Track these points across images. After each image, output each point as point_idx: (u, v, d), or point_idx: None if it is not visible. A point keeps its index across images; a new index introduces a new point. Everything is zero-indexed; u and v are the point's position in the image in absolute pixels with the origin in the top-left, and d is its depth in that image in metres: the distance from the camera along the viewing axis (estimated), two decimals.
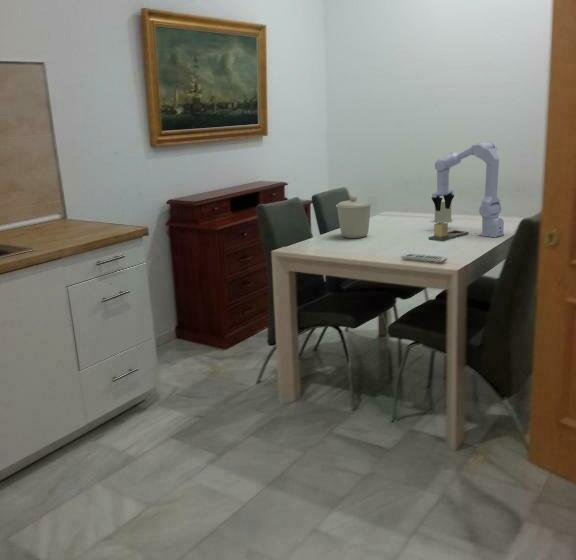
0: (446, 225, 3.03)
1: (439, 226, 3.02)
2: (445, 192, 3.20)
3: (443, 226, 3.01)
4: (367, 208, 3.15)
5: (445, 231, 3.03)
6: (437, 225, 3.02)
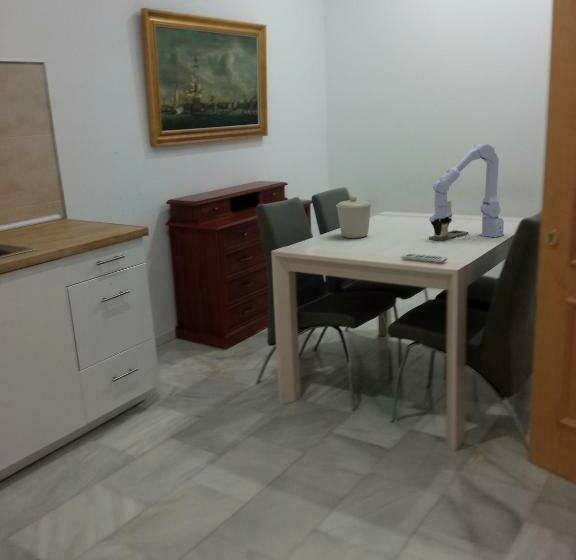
0: (446, 225, 3.03)
1: None
2: (443, 215, 3.00)
3: (443, 226, 3.01)
4: (367, 208, 3.15)
5: (445, 231, 3.03)
6: None
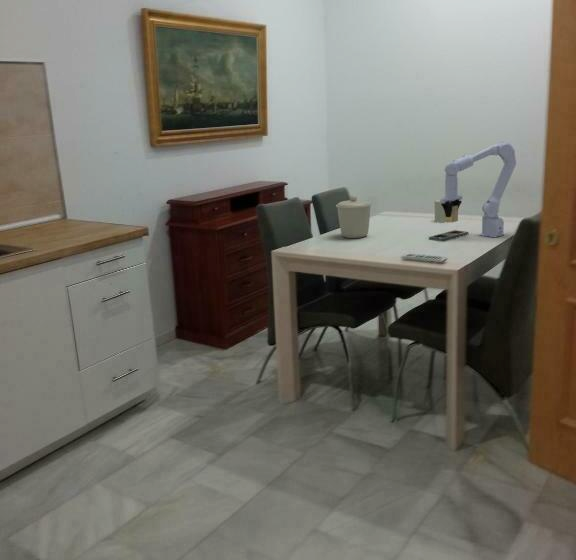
0: (456, 207, 3.05)
1: None
2: (454, 198, 3.02)
3: (453, 208, 3.04)
4: (367, 208, 3.15)
5: (455, 213, 3.06)
6: None
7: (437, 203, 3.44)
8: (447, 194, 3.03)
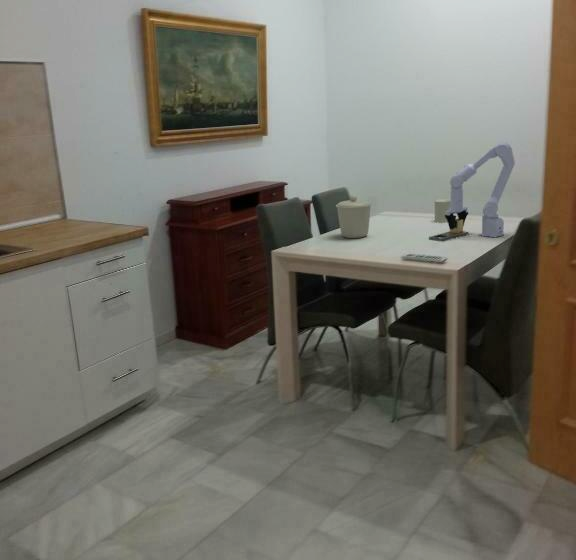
0: (461, 221, 3.10)
1: (455, 222, 3.09)
2: (459, 210, 3.06)
3: (458, 222, 3.08)
4: (367, 208, 3.15)
5: (460, 227, 3.10)
6: None
7: (437, 203, 3.44)
8: (452, 206, 3.07)
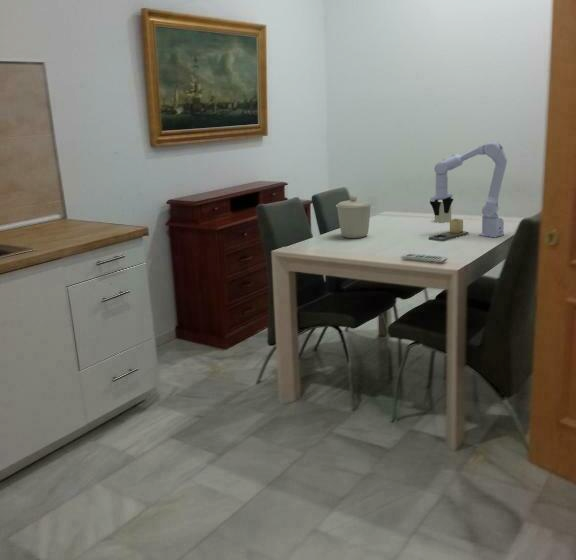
0: (461, 221, 3.10)
1: (455, 222, 3.09)
2: (444, 196, 3.09)
3: (458, 222, 3.08)
4: (367, 208, 3.15)
5: (460, 227, 3.10)
6: (453, 221, 3.10)
7: None
8: (437, 192, 3.10)
